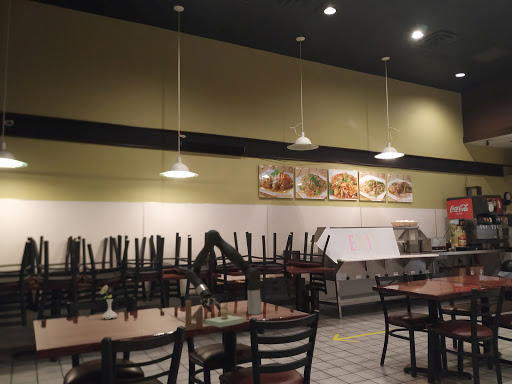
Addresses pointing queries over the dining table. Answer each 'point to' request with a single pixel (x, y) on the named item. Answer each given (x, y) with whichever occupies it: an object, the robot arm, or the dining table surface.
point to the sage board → (224, 321)
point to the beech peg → (224, 310)
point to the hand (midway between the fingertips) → (215, 310)
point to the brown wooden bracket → (197, 315)
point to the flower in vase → (109, 312)
